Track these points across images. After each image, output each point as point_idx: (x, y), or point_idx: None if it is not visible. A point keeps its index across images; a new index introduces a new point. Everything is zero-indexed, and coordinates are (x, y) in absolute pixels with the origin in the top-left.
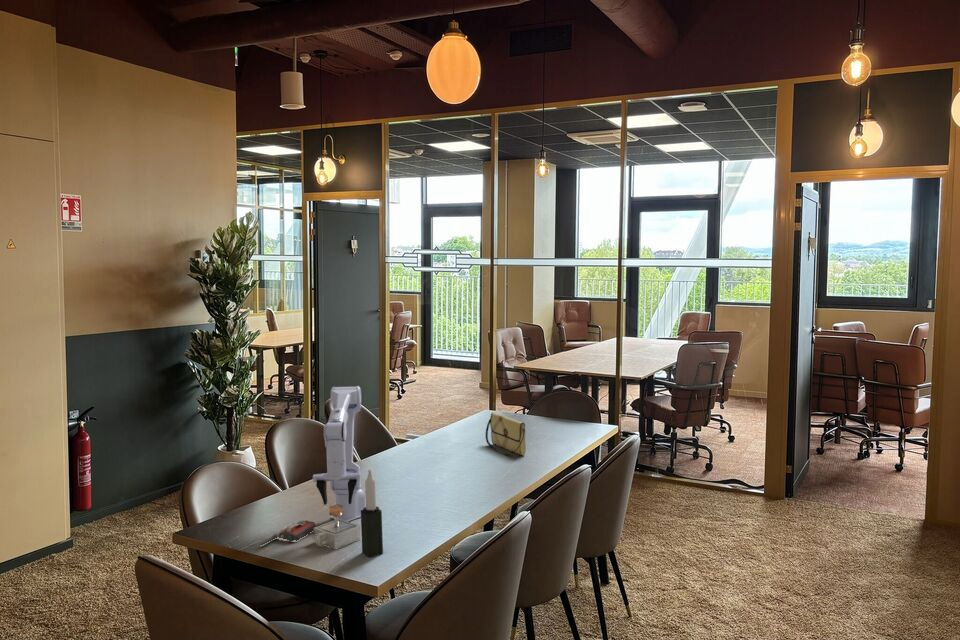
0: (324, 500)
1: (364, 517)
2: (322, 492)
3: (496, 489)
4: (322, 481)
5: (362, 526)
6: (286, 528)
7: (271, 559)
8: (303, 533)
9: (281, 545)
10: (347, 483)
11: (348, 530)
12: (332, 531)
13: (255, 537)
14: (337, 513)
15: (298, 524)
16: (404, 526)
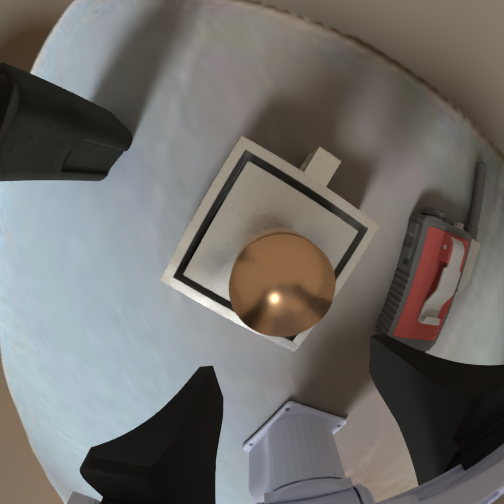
0: (391, 344)
1: (22, 74)
2: (436, 368)
3: (70, 484)
4: (478, 448)
5: (65, 99)
6: (465, 246)
7: (420, 77)
8: (408, 265)
9: (442, 188)
10: None
11: (194, 216)
12: (269, 183)
13: (501, 249)
14: (254, 237)
15: (440, 282)
16: (97, 374)
